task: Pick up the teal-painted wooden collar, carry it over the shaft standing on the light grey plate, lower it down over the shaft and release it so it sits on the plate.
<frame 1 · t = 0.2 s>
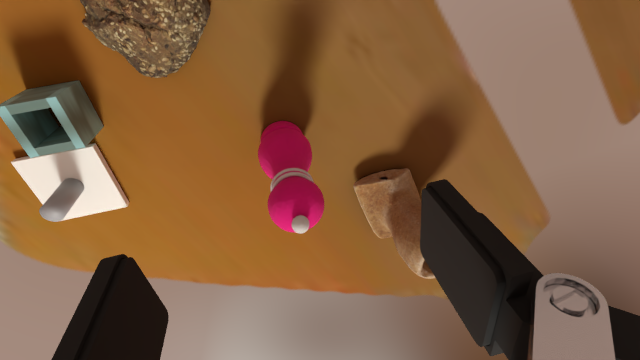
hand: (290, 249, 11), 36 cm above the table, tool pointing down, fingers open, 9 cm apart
shaft base: (76, 182, 46), on the table
beige hollow piece: (392, 196, 59), on the table
bread roll: (144, 10, 38), on the table
collar: (66, 108, 41), on the table
pepper mill: (282, 139, 49), on the table
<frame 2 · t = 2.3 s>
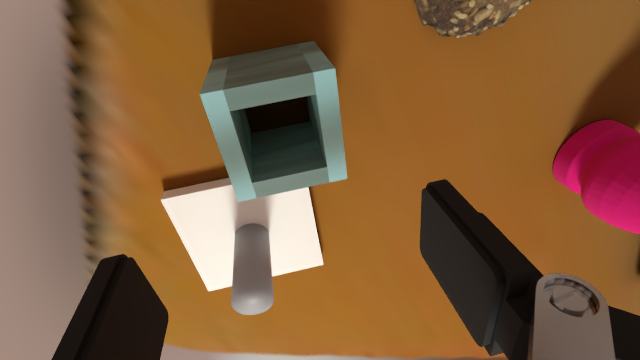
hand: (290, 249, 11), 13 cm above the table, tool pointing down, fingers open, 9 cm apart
shaft base: (252, 227, 27), on the table
collar: (274, 98, 21), on the table
pepper mill: (584, 151, 29), on the table
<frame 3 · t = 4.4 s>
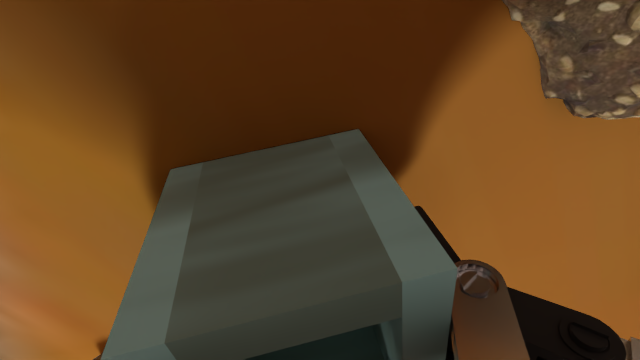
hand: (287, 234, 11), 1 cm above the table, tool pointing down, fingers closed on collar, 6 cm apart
collar: (285, 220, 12), on the table, touching gripper
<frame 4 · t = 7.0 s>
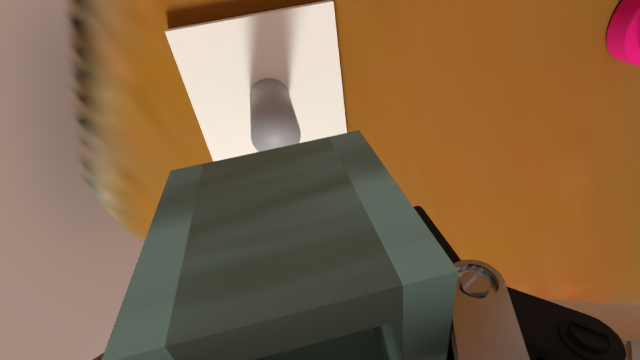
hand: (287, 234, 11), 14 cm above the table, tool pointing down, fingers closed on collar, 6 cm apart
shaft base: (268, 92, 23), on the table
collar: (285, 221, 12), point 14 cm above the table, touching gripper
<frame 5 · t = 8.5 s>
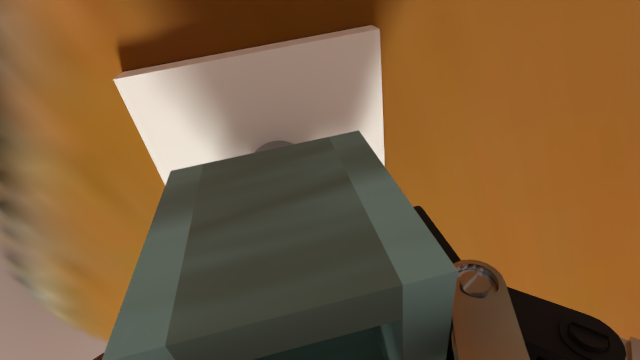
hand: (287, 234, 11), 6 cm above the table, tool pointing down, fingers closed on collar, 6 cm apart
shaft base: (276, 156, 16), on the table
collar: (285, 221, 12), point 5 cm above the table, touching gripper
when the fingers open (3 cm above the table, at t = 9.8 s): collar drops 2 cm, resting on shaft base.
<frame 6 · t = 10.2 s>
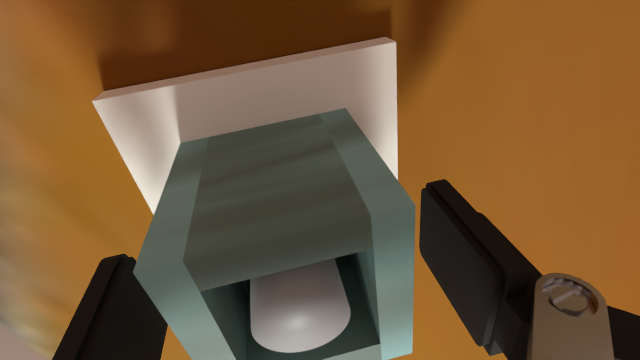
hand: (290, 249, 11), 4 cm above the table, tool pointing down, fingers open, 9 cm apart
shaft base: (278, 180, 14), on the table
collar: (281, 192, 14), point 1 cm above the table, touching shaft base
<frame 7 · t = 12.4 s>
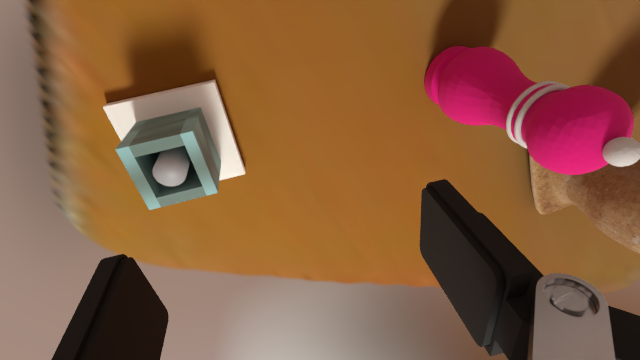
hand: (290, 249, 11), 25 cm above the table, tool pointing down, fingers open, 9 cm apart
shaft base: (182, 139, 34), on the table
beige hollow piece: (561, 157, 46), on the table
collar: (181, 143, 33), point 1 cm above the table, touching shaft base
pepper mill: (450, 75, 36), on the table
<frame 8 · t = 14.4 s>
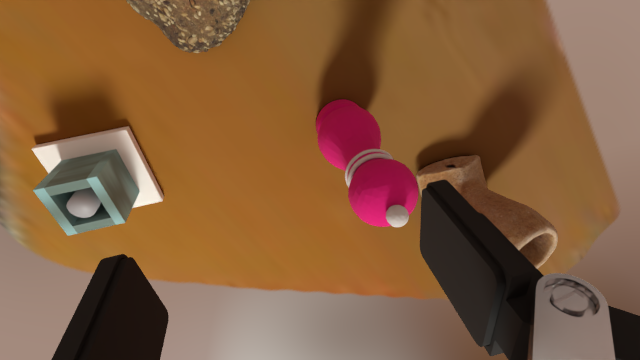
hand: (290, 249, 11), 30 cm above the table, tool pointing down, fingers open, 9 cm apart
shaft base: (105, 172, 40), on the table
beige hollow piece: (454, 187, 52), on the table
collar: (102, 176, 39), point 1 cm above the table, touching shaft base
pepper mill: (339, 122, 42), on the table
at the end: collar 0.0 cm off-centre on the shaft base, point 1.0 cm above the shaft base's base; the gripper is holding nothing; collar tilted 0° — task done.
